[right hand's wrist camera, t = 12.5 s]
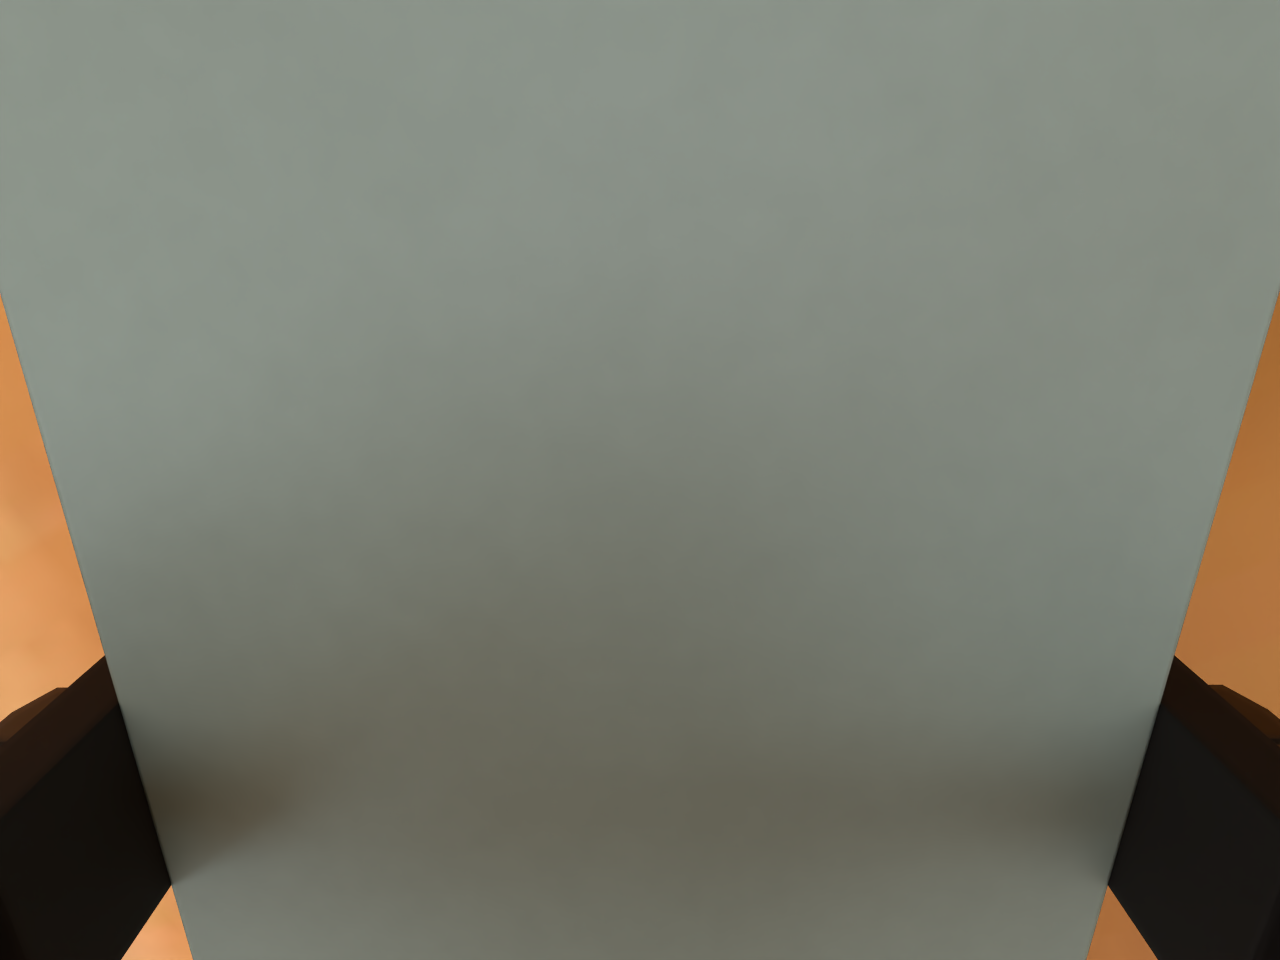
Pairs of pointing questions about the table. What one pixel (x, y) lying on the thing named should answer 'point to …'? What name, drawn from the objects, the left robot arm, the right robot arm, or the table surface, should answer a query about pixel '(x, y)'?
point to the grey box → (639, 449)
